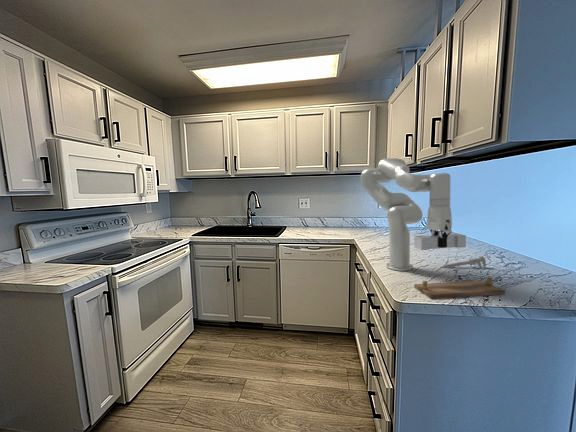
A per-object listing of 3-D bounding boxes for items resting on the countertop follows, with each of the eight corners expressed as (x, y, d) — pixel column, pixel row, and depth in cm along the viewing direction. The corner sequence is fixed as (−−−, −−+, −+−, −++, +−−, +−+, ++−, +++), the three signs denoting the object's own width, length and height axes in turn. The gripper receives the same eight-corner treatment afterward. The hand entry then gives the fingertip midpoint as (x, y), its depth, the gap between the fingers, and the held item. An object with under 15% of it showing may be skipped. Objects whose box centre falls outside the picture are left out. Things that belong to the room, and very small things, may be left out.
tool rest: (414, 287, 105) (414, 276, 104) (480, 283, 106) (480, 273, 106) (430, 298, 94) (430, 286, 93) (504, 294, 95) (504, 282, 95)
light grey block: (414, 247, 112) (414, 236, 111) (456, 244, 113) (456, 233, 113) (421, 250, 106) (421, 238, 106) (465, 247, 107) (465, 235, 107)
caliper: (484, 267, 128) (484, 255, 127) (485, 268, 127) (486, 255, 126) (440, 267, 131) (440, 255, 130) (441, 268, 130) (441, 256, 129)
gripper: (419, 203, 116) (419, 243, 118) (444, 204, 100) (443, 251, 101) (435, 202, 117) (435, 242, 118) (462, 203, 100) (462, 250, 102)
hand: (439, 246), depth 110 cm, fingers closed on light grey block, 3 cm apart
